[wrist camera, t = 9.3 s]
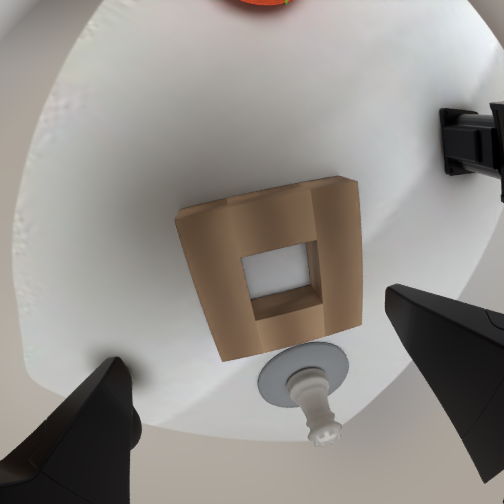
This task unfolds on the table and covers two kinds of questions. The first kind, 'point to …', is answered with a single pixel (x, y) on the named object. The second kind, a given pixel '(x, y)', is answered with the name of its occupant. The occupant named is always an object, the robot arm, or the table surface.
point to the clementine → (266, 2)
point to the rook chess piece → (315, 404)
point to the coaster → (298, 359)
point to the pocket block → (270, 238)
